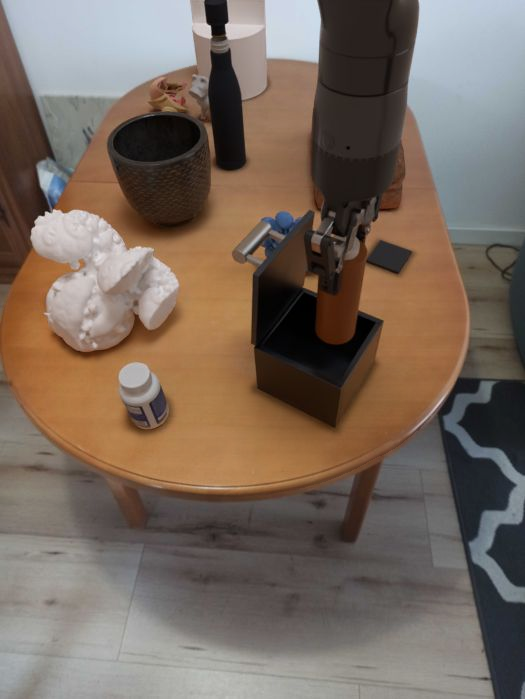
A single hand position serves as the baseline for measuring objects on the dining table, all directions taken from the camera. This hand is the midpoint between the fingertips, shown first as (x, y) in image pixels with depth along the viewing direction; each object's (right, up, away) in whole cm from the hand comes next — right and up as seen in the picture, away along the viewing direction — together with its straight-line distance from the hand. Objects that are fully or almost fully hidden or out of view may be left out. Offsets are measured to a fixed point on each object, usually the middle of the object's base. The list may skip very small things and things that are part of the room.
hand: (341, 274), depth 56 cm
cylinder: (-16, +59, +73) cm, 96 cm away
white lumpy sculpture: (-32, -3, +27) cm, 42 cm away
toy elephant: (-31, +49, +66) cm, 88 cm away
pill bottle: (-25, -18, +15) cm, 34 cm away
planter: (-26, +18, +42) cm, 53 cm away
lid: (-6, 0, +6) cm, 9 cm away
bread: (+10, +29, +49) cm, 58 cm away
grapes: (-4, +5, +31) cm, 32 cm away
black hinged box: (-1, -12, +18) cm, 22 cm away
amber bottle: (0, -6, +7) cm, 9 cm away
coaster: (+13, +8, +32) cm, 36 cm away
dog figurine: (-20, +47, +64) cm, 82 cm away
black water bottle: (-15, +32, +52) cm, 63 cm away
